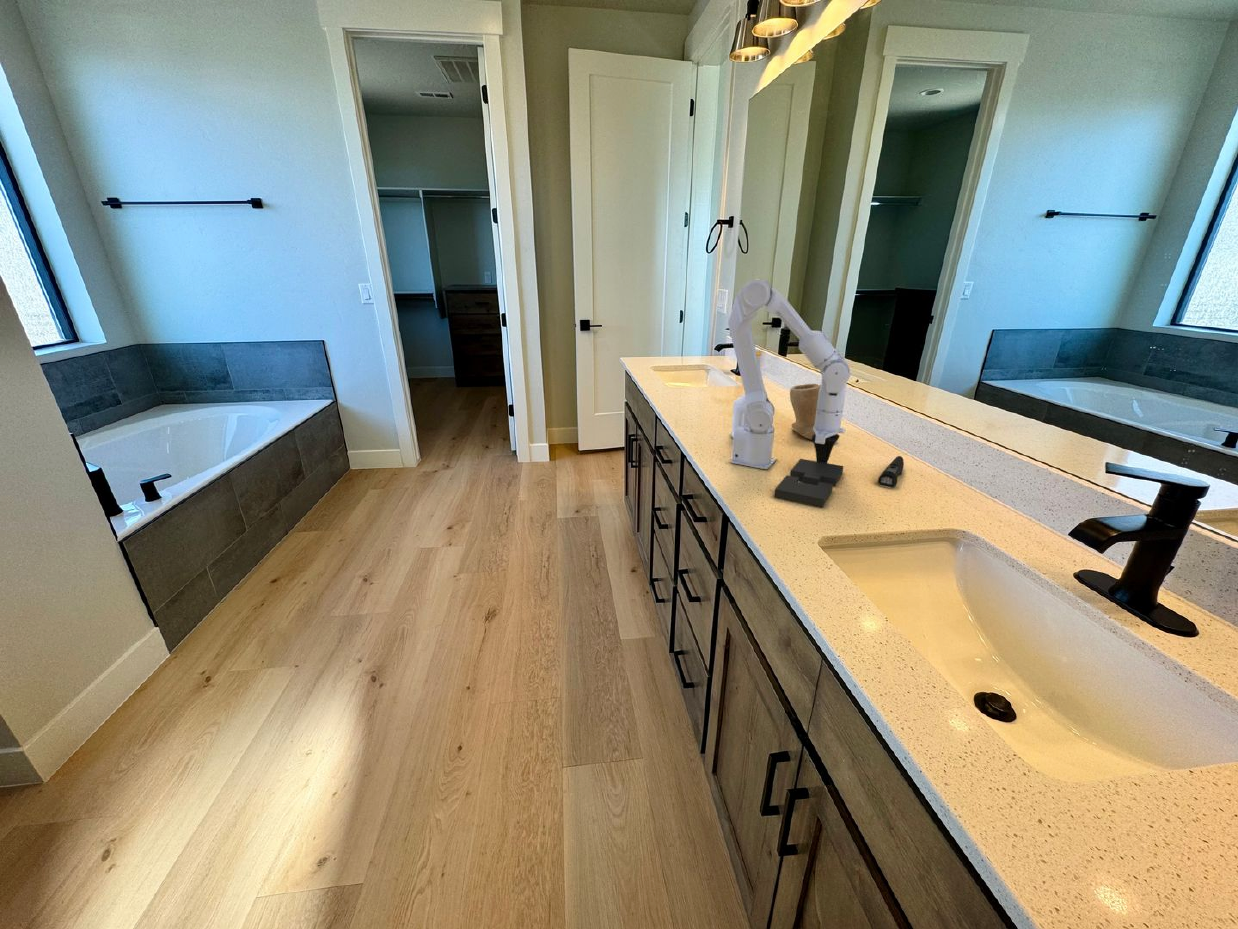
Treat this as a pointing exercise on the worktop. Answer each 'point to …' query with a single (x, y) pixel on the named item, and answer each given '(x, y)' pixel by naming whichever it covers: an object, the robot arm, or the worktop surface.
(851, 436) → the worktop surface
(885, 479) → the electric trimmer
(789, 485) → the notch pad
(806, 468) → the pad
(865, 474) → the worktop surface
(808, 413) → the brown boot
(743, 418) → the soap bottle
